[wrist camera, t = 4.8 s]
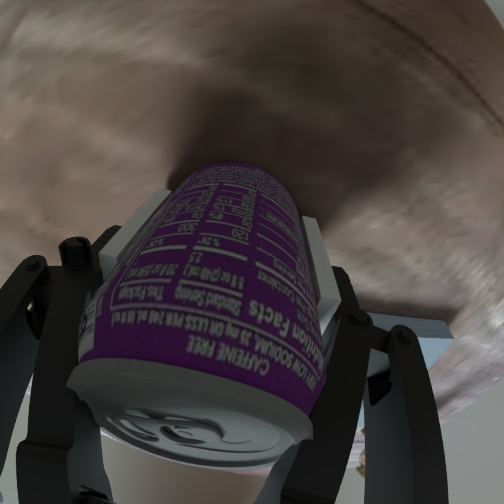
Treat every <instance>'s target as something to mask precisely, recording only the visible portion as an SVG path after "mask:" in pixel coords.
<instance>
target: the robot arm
mask: <svg viewBox="0 0 504 504" xmlns="http://www.w3.org/2000/svg"><path fill="white" fill-rule="evenodd" d="M171 195H172V191H169V190H163V189H158V190H157V191H156V192H155V193H154V194H153V195H152V196H151V197H150V198H149V199H148V200H147V201H146V202H145V203H144V204H143V205H142V206H141V207H140V208H139V209H138V210H137V211H136V212H135V214H134V215H133V216H132V217H131V218H130V219H129V220H128V221H127V222H126V223H125V224H124V225H123V226H118V225H114V226H112V227H110V228H108V229H106V230H105V232H104V233H103V234H102V235H101V236H100V237H99V238H98V239H97V240H96V241H95V242H94V243H93V244H92V245H91V244H90V241H89V240H88V239H87V238H84V237H78V236H77V237H71V238H68V239H66V240H64V241H63V242H61V243H60V245H59V246H58V247H59V252H60V256H61V261H62V266H48V265H47V261H46V259H45V257H43V256H41V255H33V256H29V257H28V258H26V259H24V260H23V261H22V262H21V263H20V264H19V266H18V267H17V268H16V269H15V271H14V272H13V273H12V274H11V276H10V277H9V278H8V280H7V281H6V282H5V284H4V285H3V286H2V288H1V289H0V476H1V473H2V470H3V467H4V464H5V460H6V456H7V452H8V448H9V443H10V440H11V436H12V432H13V429H14V425H15V422H16V419H17V415H18V412H19V409H20V406H21V403H22V401H23V398H24V395H25V392H26V390H27V387H28V384H29V382H30V379H31V377H32V374H33V380H32V387H31V395H30V404H29V416H28V432H27V437H26V439H25V440H23V441H21V442H20V443H19V445H18V447H17V451H16V474H17V475H16V476H17V490H18V500H19V504H116V503H114V502H113V497H112V492H111V487H110V483H109V479H108V477H107V475H106V472H105V470H104V465H103V458H102V448H101V435H100V427H99V425H98V424H97V423H96V421H95V419H94V416H93V413H92V410H91V409H90V407H89V405H88V404H87V403H86V401H84V400H82V401H81V400H80V399H79V397H78V396H77V394H76V393H75V391H74V390H72V389H70V388H67V387H66V384H67V381H68V379H69V377H70V375H71V373H72V371H73V370H74V368H75V367H76V366H77V365H78V338H79V326H80V322H81V318H82V316H83V314H84V312H85V310H86V308H87V306H88V305H89V303H90V302H91V300H92V299H93V297H94V296H95V294H96V293H97V291H98V290H99V288H100V287H101V285H102V284H103V282H104V281H105V279H106V278H107V277H108V275H109V274H110V272H111V271H112V270H113V268H114V267H115V265H116V264H117V263H118V261H119V260H120V259H121V257H122V256H123V255H124V253H125V252H126V251H127V249H128V248H129V247H130V245H131V244H132V243H133V241H134V240H135V239H136V238H137V236H138V235H139V234H140V232H141V231H142V230H143V229H144V227H145V226H146V225H147V224H148V222H149V221H150V220H151V219H152V218H153V216H154V215H155V214H156V213H157V211H158V210H159V209H160V208H161V207H162V205H163V204H164V203H165V202H166V201H167V200H168V198H169V197H170V196H171ZM300 225H301V229H302V234H303V238H304V243H305V248H306V253H307V258H308V263H309V268H310V273H311V278H312V283H313V289H314V294H315V300H316V305H317V311H318V317H319V323H320V329H321V335H322V341H323V348H324V354H325V361H326V380H325V383H324V385H323V387H322V389H321V392H320V394H319V396H318V398H317V401H316V403H315V405H314V408H313V410H312V413H311V415H310V417H309V419H310V421H311V423H312V426H313V440H302V441H300V442H299V443H298V444H297V445H296V446H295V444H293V445H291V446H290V447H289V448H288V449H287V450H286V451H285V452H284V453H283V455H282V456H281V457H280V459H279V460H278V461H277V462H276V463H275V464H274V465H273V467H272V469H271V472H270V474H269V476H268V478H267V480H266V482H265V484H264V486H263V488H262V490H261V492H260V494H259V495H258V497H257V499H256V501H255V502H254V503H253V504H335V500H336V497H337V494H338V492H339V489H340V485H341V483H342V479H343V476H344V473H345V470H346V466H347V463H348V460H349V456H350V452H351V449H352V445H353V441H354V437H355V433H356V429H357V424H358V420H359V415H360V410H361V406H362V401H363V408H364V429H365V494H364V504H449V502H448V484H447V472H446V462H445V454H444V447H443V440H442V435H441V428H440V423H439V418H438V413H437V408H436V403H435V399H434V394H433V390H432V386H431V382H430V378H429V374H428V370H427V367H426V363H425V360H424V356H423V353H422V350H421V346H420V343H419V340H418V337H417V335H416V334H415V333H414V332H413V330H412V329H410V328H409V327H407V326H404V325H400V324H397V325H395V326H393V327H392V329H391V330H390V331H387V330H384V329H382V328H379V327H377V326H374V325H373V320H372V318H371V317H370V315H369V314H368V313H366V312H365V311H364V310H362V309H360V307H359V304H358V302H357V299H356V296H355V293H354V290H353V287H352V284H351V282H350V279H349V276H348V274H347V273H346V272H345V271H344V270H343V268H341V267H336V266H331V264H330V260H329V257H328V254H327V251H326V248H325V245H324V242H323V239H322V236H321V233H320V230H319V227H318V224H317V221H316V219H315V218H311V217H306V216H302V219H301V222H300ZM30 303H31V305H32V307H31V309H30V310H28V309H27V307H28V306H29V304H30ZM33 372H34V373H33ZM2 502H3V496H2V493H1V492H0V504H1V503H2Z"/></svg>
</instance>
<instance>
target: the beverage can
mask: <svg viewBox="0 0 504 504" xmlns="http://www.w3.org/2000/svg"><path fill="white" fill-rule="evenodd" d="M325 380H326V361H325V354H324V348H323V341H322V335H321V329H320V323H319V317H318V311H317V305H316V300H315V294H314V289H313V283H312V278H311V273H310V268H309V263H308V258H307V253H306V248H305V243H304V238H303V234H302V229H301V225H300V220H299V216H298V211H297V208H296V205H295V202H294V200H293V198H292V196H291V195H290V193H289V191H288V190H287V189H286V187H285V186H284V185H283V184H282V183H281V182H280V181H279V180H278V179H277V178H275V177H274V176H273V175H271V174H270V173H268V172H267V171H265V170H263V169H261V168H258V167H256V166H253V165H250V164H245V163H239V162H222V163H216V164H212V165H209V166H206V167H203V168H201V169H199V170H197V171H196V172H194V173H193V174H191V175H190V176H189V177H187V178H186V179H185V180H184V181H183V182H182V184H181V185H180V186H179V187H178V188H177V189H176V190H175V191H174V193H173V194H172V195H171V196H170V197H169V198H168V200H167V201H166V202H165V203H164V204H163V205H162V207H161V208H160V209H159V210H158V211H157V213H156V214H155V215H154V216H153V218H152V219H151V220H150V221H149V222H148V224H147V225H146V226H145V227H144V229H143V230H142V231H141V232H140V234H139V235H138V236H137V238H136V239H135V240H134V241H133V243H132V244H131V245H130V247H129V248H128V249H127V251H126V252H125V253H124V255H123V256H122V257H121V259H120V260H119V261H118V263H117V264H116V265H115V267H114V268H113V270H112V271H111V272H110V274H109V275H108V277H107V278H106V279H105V281H104V282H103V284H102V285H101V287H100V288H99V290H98V291H97V293H96V294H95V296H94V297H93V299H92V300H91V302H90V303H89V305H88V306H87V308H86V310H85V312H84V314H83V316H82V318H81V322H80V326H79V338H78V365H77V366H76V367H75V368H74V370H73V371H72V373H71V375H70V377H69V379H68V381H67V384H66V387H67V388H70V389H72V390H74V391H75V393H76V394H77V396H78V397H79V399H80V400H81V401H82V400H84V401H86V403H87V404H88V405H89V407H90V409H91V410H92V413H93V416H94V419H95V421H96V423H97V424H98V425H99V427H100V430H102V431H103V432H105V433H106V434H108V435H110V436H111V437H113V438H115V439H117V440H118V441H120V442H122V443H124V444H126V445H128V446H131V447H133V448H135V449H137V450H140V451H142V452H145V453H147V454H150V455H153V456H156V457H159V458H162V459H166V460H169V461H174V462H177V463H182V464H187V465H191V466H197V467H204V468H213V469H228V470H243V469H257V468H265V467H271V466H273V465H274V464H275V463H276V462H277V461H278V460H279V459H280V457H281V456H282V455H283V453H284V452H285V451H286V450H287V449H288V448H289V447H290V446H291V445H293V444H295V446H296V445H297V444H298V443H299V442H300V441H302V440H313V426H312V423H311V421H310V419H309V417H310V415H311V413H312V410H313V408H314V405H315V403H316V401H317V398H318V396H319V394H320V392H321V389H322V387H323V385H324V383H325Z"/></svg>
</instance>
